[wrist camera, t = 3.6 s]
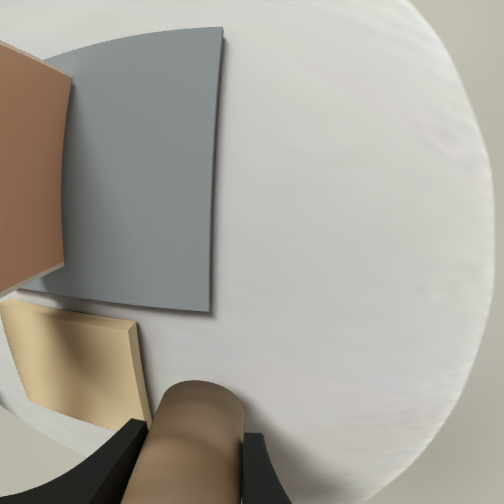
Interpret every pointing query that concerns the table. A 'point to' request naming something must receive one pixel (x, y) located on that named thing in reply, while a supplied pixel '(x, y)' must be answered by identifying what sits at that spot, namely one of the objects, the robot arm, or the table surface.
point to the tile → (30, 166)
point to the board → (77, 363)
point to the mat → (139, 170)
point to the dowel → (191, 449)
